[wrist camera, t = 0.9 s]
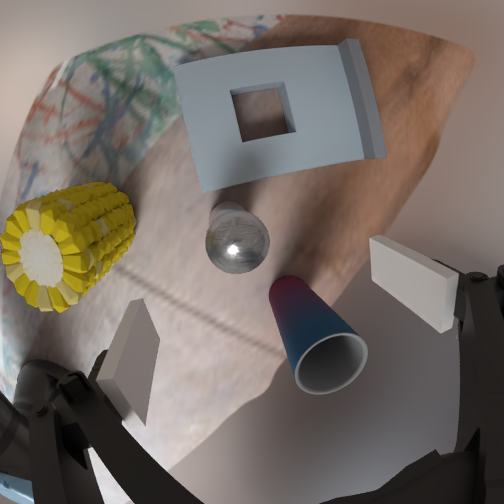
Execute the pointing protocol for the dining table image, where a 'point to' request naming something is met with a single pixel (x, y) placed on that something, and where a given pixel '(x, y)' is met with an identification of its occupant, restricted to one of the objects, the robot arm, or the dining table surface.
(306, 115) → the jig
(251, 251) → the silver metal cylinder
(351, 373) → the cup
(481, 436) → the robot arm
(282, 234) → the dining table surface
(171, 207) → the dining table surface
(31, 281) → the food
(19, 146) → the dining table surface
